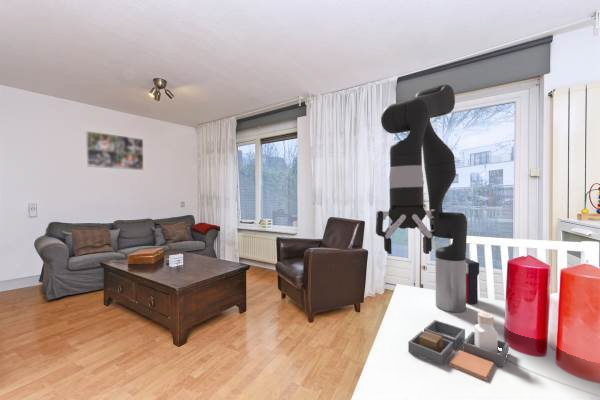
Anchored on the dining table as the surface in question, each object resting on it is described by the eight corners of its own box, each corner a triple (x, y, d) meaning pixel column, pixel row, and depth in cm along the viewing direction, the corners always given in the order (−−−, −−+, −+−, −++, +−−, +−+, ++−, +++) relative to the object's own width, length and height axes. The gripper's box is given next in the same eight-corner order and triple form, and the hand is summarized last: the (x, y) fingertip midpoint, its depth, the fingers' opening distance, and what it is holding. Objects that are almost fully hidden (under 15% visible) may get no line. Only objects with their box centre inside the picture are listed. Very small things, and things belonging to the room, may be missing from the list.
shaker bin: (472, 340, 71) (472, 331, 71) (508, 353, 65) (508, 343, 65) (462, 352, 66) (462, 342, 66) (501, 367, 60) (501, 356, 60)
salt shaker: (498, 359, 63) (498, 319, 63) (479, 356, 64) (479, 317, 64) (491, 349, 67) (491, 312, 67) (473, 347, 68) (473, 310, 68)
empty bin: (435, 328, 78) (434, 319, 78) (465, 338, 72) (465, 329, 72) (423, 338, 73) (423, 329, 73) (455, 349, 67) (455, 339, 67)
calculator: (450, 293, 106) (450, 256, 106) (461, 293, 106) (461, 256, 106) (467, 304, 95) (467, 263, 95) (479, 304, 95) (479, 262, 95)
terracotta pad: (459, 353, 66) (459, 350, 66) (493, 366, 60) (493, 362, 60) (449, 365, 61) (449, 362, 61) (485, 380, 56) (485, 377, 56)
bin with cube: (421, 340, 72) (421, 330, 72) (453, 352, 66) (453, 342, 66) (408, 351, 67) (408, 341, 67) (441, 365, 61) (441, 355, 61)
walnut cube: (425, 346, 69) (425, 330, 69) (442, 352, 66) (442, 336, 66) (419, 352, 66) (419, 336, 66) (436, 359, 64) (436, 342, 64)
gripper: (431, 185, 66) (432, 250, 67) (373, 187, 68) (374, 250, 68) (444, 184, 59) (445, 257, 59) (378, 186, 61) (379, 257, 61)
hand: (407, 253), depth 64 cm, fingers open, 8 cm apart
